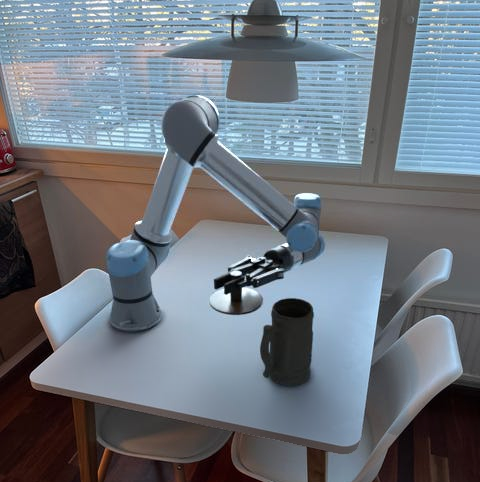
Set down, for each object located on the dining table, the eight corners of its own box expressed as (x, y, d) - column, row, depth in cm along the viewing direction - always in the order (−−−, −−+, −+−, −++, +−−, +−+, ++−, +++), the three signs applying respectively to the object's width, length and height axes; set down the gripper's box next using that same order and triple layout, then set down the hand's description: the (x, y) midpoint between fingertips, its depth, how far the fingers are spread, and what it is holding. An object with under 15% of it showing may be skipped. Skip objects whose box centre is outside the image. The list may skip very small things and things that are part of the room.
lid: (198, 301, 124) (196, 273, 119) (236, 283, 132) (236, 256, 128) (235, 321, 115) (235, 291, 111) (274, 301, 123) (275, 273, 119)
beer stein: (285, 354, 128) (285, 291, 117) (319, 369, 122) (323, 304, 111) (250, 385, 119) (246, 320, 107) (286, 403, 113) (285, 336, 101)
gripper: (261, 238, 134) (198, 263, 120) (306, 254, 124) (242, 284, 110) (260, 262, 138) (199, 289, 124) (304, 280, 128) (242, 311, 114)
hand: (220, 286), depth 117 cm, fingers closed on lid, 3 cm apart
